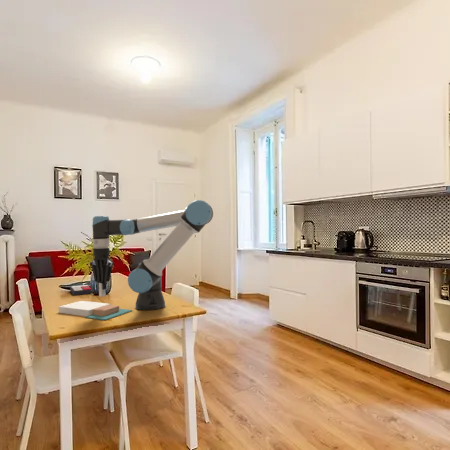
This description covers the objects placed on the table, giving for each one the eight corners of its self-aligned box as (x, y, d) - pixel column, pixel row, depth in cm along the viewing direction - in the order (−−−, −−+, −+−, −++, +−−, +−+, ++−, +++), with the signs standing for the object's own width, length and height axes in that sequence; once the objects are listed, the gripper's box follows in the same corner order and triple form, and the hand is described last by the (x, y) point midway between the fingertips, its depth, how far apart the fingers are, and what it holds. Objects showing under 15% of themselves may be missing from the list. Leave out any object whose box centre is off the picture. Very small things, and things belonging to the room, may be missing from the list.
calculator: (73, 290, 203) (70, 285, 215) (73, 297, 203) (70, 292, 215) (92, 288, 209) (88, 283, 221) (92, 295, 209) (88, 290, 221)
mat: (113, 308, 167) (113, 307, 167) (132, 311, 163) (132, 310, 163) (85, 317, 151) (85, 316, 151) (105, 320, 146) (105, 319, 146)
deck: (81, 306, 174) (81, 300, 174) (110, 309, 166) (110, 303, 166) (58, 312, 161) (58, 306, 161) (88, 316, 153) (88, 310, 153)
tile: (108, 309, 164) (108, 304, 164) (119, 311, 161) (119, 306, 161) (92, 314, 155) (92, 309, 155) (103, 316, 152) (103, 310, 152)
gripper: (85, 248, 158) (86, 296, 158) (105, 248, 153) (107, 298, 153) (97, 247, 165) (98, 293, 165) (117, 247, 160) (118, 295, 160)
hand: (102, 296), depth 159 cm, fingers closed
